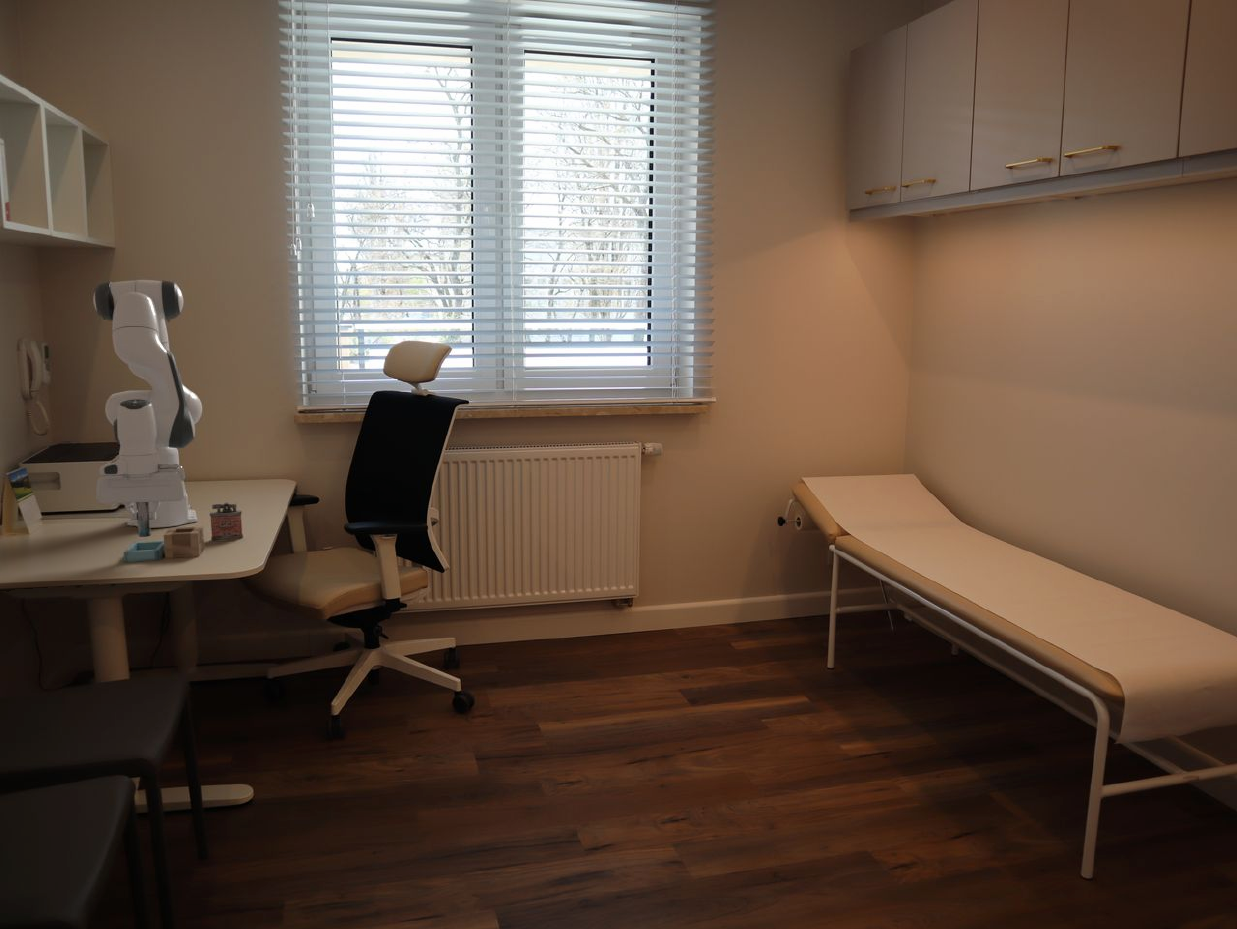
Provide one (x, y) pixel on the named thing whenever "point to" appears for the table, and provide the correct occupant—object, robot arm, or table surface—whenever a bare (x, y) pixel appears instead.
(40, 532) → the table surface
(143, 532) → the post
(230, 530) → the lighter
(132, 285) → the robot arm
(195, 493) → the table surface
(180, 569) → the table surface
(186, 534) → the bored block
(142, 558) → the tray
